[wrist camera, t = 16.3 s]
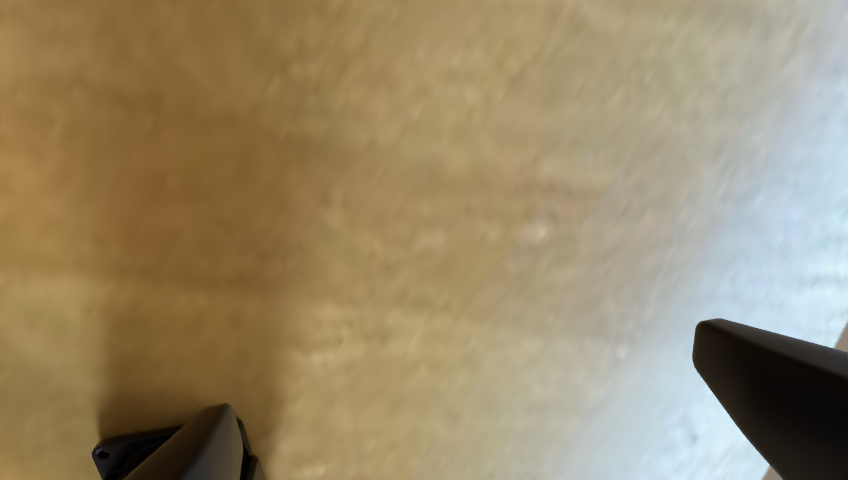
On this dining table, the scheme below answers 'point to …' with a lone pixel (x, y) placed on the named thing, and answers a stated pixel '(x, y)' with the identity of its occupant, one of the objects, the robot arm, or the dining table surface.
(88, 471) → the dining table surface
